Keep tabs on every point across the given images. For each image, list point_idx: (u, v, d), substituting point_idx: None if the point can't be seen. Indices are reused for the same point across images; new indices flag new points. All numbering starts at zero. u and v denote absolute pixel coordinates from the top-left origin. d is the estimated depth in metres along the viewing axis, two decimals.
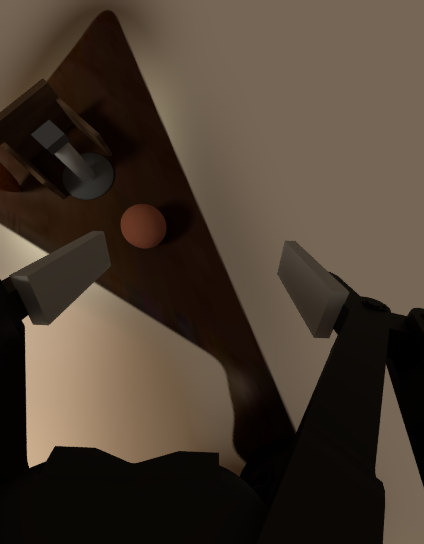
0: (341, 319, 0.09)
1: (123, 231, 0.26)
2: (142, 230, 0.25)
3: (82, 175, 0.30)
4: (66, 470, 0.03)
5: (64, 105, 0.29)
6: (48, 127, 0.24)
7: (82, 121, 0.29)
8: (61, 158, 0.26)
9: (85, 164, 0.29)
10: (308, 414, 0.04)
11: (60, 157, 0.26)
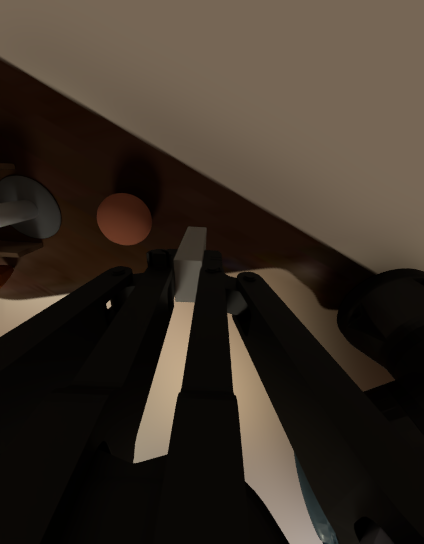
0: None
1: None
2: (130, 231, 0.22)
3: (26, 217, 0.25)
4: None
5: None
6: None
7: None
8: None
9: (14, 206, 0.24)
10: (183, 382, 0.05)
11: None
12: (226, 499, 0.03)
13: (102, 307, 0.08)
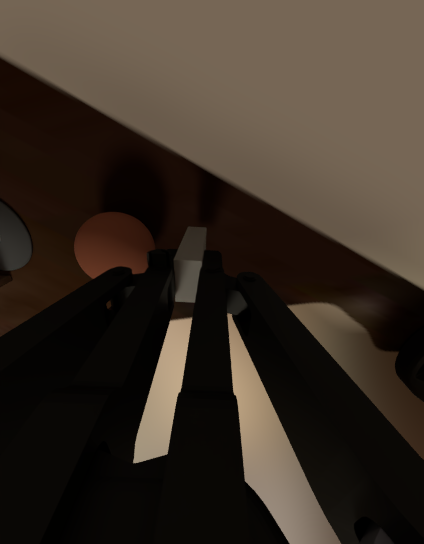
0: None
1: None
2: None
3: None
4: None
5: None
6: None
7: None
8: None
9: None
10: (183, 382, 0.05)
11: None
12: (226, 499, 0.03)
13: (102, 307, 0.08)
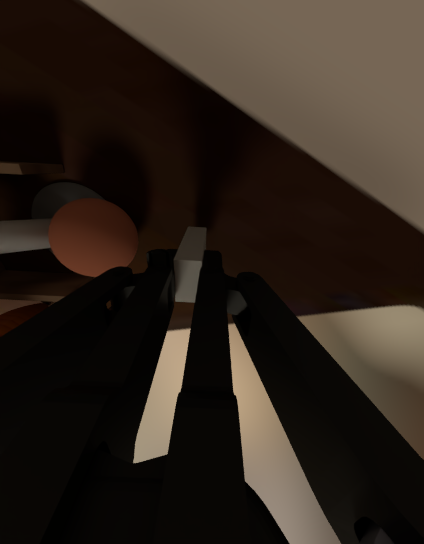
0: None
1: None
2: None
3: (39, 244, 0.16)
4: None
5: None
6: None
7: None
8: None
9: (18, 228, 0.15)
10: (183, 382, 0.05)
11: None
12: (226, 499, 0.03)
13: (102, 307, 0.08)
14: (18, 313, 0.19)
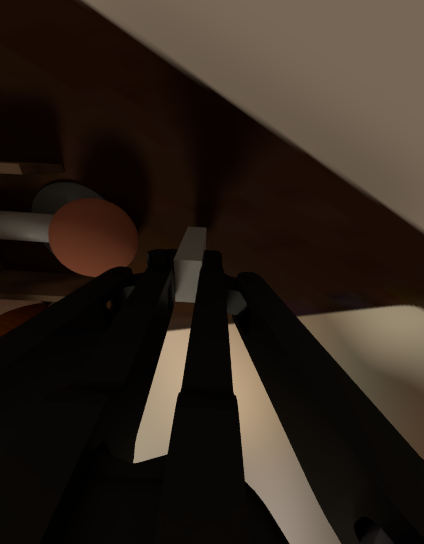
0: None
1: None
2: None
3: (35, 238, 0.17)
4: None
5: None
6: None
7: None
8: None
9: (18, 220, 0.16)
10: (183, 382, 0.05)
11: None
12: (226, 499, 0.03)
13: (102, 307, 0.08)
14: (18, 313, 0.19)
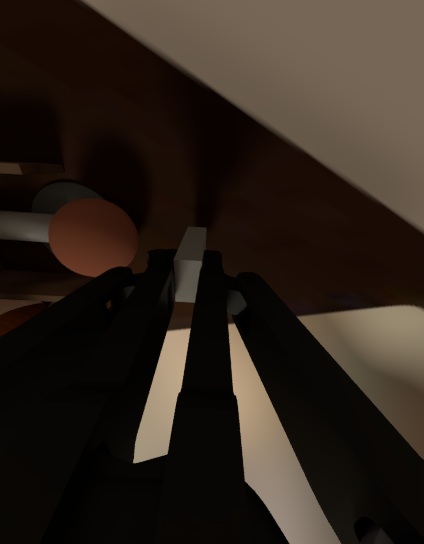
0: None
1: None
2: None
3: (35, 238, 0.17)
4: None
5: None
6: None
7: None
8: None
9: (18, 220, 0.16)
10: (183, 382, 0.05)
11: None
12: (226, 499, 0.03)
13: (102, 307, 0.08)
14: (18, 313, 0.19)
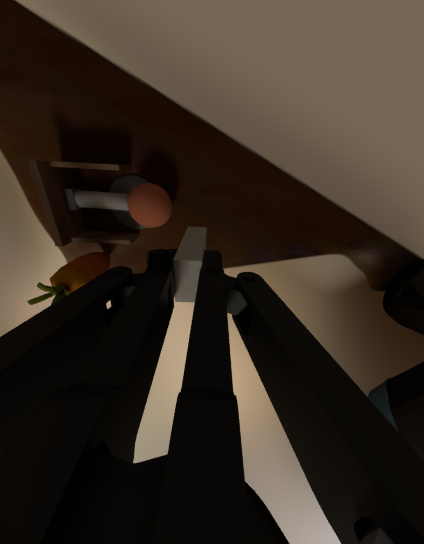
0: None
1: None
2: None
3: (113, 206, 0.29)
4: None
5: (62, 164, 0.25)
6: None
7: (92, 166, 0.25)
8: (89, 207, 0.30)
9: (106, 196, 0.29)
10: (183, 382, 0.05)
11: (88, 206, 0.30)
12: (227, 499, 0.03)
13: (102, 307, 0.08)
14: (98, 253, 0.32)
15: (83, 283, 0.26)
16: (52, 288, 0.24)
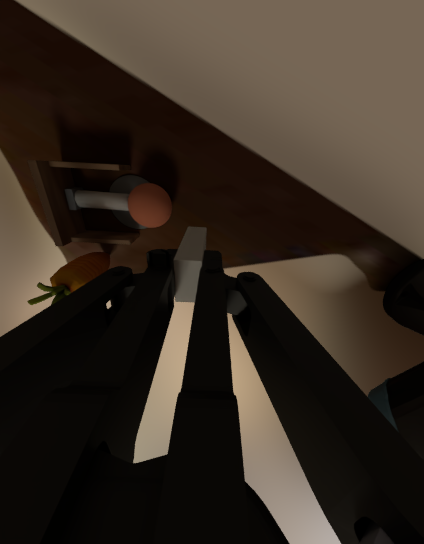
0: None
1: None
2: None
3: (113, 207, 0.29)
4: None
5: (62, 164, 0.25)
6: None
7: (92, 166, 0.25)
8: (89, 207, 0.30)
9: (106, 196, 0.29)
10: (183, 382, 0.05)
11: (88, 206, 0.30)
12: (226, 499, 0.03)
13: (102, 307, 0.08)
14: (98, 253, 0.32)
15: (83, 283, 0.26)
16: (52, 288, 0.24)
